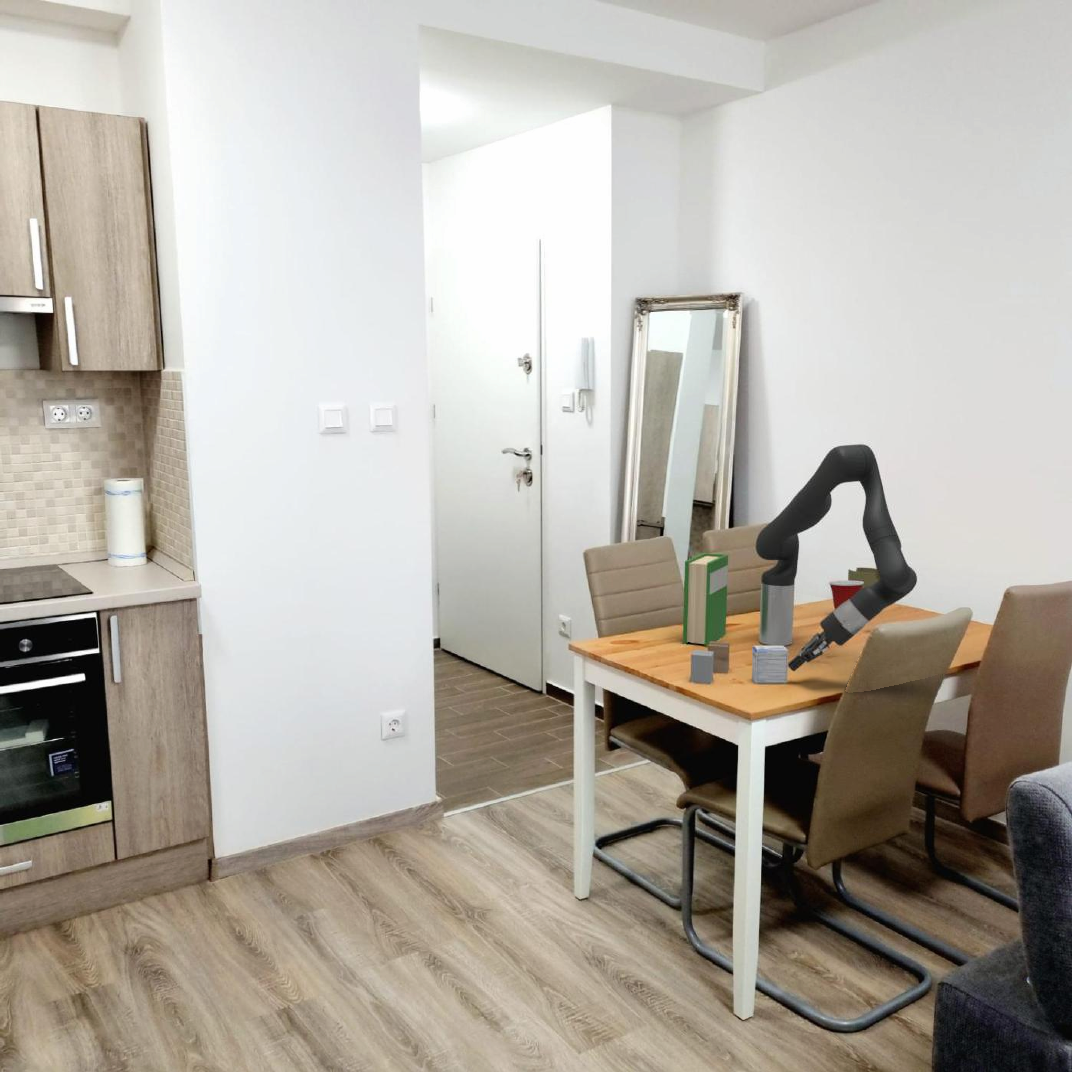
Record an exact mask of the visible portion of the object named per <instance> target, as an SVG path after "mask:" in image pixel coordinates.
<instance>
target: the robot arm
mask: <svg viewBox="0 0 1072 1072" xmlns="http://www.w3.org/2000/svg"><path fill="white" fill-rule="evenodd" d="M854 482H859V483H860V485H861V487H862V489H863V490H864V495H865V502H864V503H865V504H864V510H863V513H862V514H863V516H862V528H863V529H862V530H863V532H864V533H863V534H864V536H865V539H866V542H867V544H868V546H869V548H870V550H871V553H872V554H873V558H874V563H875V569H877V571H878V574H879V577H880V579H881V580H879V581H878V582H877V583H875V584H874V585H872V586H865V587H864V588H862V589H861V590H859V591H858V592H857V593H856V594H855V595H854V596H852V597H851V598H850V599H849V600H847V601H846V602H844V603H843V604H841V605H840V606H839V607H838V608H836V609H835V608H834V610H833V611H831V612H830V613H829V614H828V615H827V616H825V617H824V618H823V619H822V620H821V621H820V623H819V625H820V627H821V629H822V630H823V631H822V632H820V633H819V632H817V633H815V634H814V635H813V636H812V638H811V639H810V640H809V641H807V643H805V644H804V646H803V647H801V649H800V651H799V653H798V654H797V655H796V656H795V657H794V658H793V659H791V660H790V661H788V668H789V669H790V670H791V671H792V672H795V671H797V670H798V669H799V668H800V667H801V666H803V665H804V664H805V663H807V664H809V663H810V662H811V661H814V660H815V659H817V658H819V657H820V656H822V655H823V653H824V652H826V651H827V650H828V649H830V645H831V644H832V643H833V642H834V643H835V644H836V645H837V646H839V647H842V646H843V645H845V644H846V643H847V642H849V640H850V639H852V638H853V637H854V636H855V635H857V634H858V633H859V632H860V631H861V630H862V629H864V628H865V627H866V626H867V624H868V623H869V622H870V621H872V620H873V619H874V618H875V617H876V616H878V615H879V614H880V613H881V612H882V611H883V610H885V609H886V608H888V607H889V606H892V605H894V604H895V603H896V602H898V601H900V600H902V599H903V598H904V597H907V596H908V595H909V594H910V593H912V591H913V590H914V588H915V587H916V585H917V582H918V576H917V573H916V571H915V570H914V569H913V568H912V567H911V566H909V564H908V563H907V561H906V559H905V557H904V554H903V551H902V543H901V540H900V537H899V535H898V532H897V530H896V527H895V525H894V523H893V520H892V518H891V515H890V512H889V508H888V505H887V500H886V496H885V490H884V485H883V483H882V478H881V472H880V469H879V464H878V461H877V458H876V455H875V453H874V451H873V450H872V448H871V447H870V446H868V445H867V444H864V443H863V444H862V443H860V444H848V445H838V446H835V447H833V448H832V449H830V450H829V451H828V452H827V454H826V455H825V457H824V458H823V460H822V461H821V463H820V465H819V466H818V467H817V468H816V471H815V472H814V473H813V475H812V476H811V477H810V479H809V480H808V481H807V482H806V483H805V485H804V486H803V487H802V488H801V489H800V490H799V491H798V492H797V494H796V495H794V496H793V498H792V499H791V501H790V502H789V503H788V504H787V505H786V507H785V508H784V509H783V510H781V512H780V513H779V514H778V515H777V516H776V517H775V518H774V519H773V520H772V521H771V522H769V523H768V524H767V525H765V527H763V528H762V529H761V530H760V532H759V534H758V535H757V538H756V541H755V550H756V553H757V555H758V556H759V557H760V558H761V559H763V560H766V561H777V562H776V564H775V565H774V566H773V567H772V568H769V569H768V570H766V571H764V572H763V573H762V574H761V582H760V583H761V585H760V609H759V610H760V612H759V638H758V639H759V640H758V641H759V643H761V644H763V645H766V646H784V647H785V646H789V645H792V644H793V630H794V629H793V628H794V611H795V610H794V608H795V607H794V605H795V580H796V578H797V573H798V562H799V551H800V539H799V535H798V534H801V533H803V532H805V531H807V530H809V529H812V528H814V527H815V526H816V525H817V524H818V523H820V521H822V519H824V517H826V515H827V514H828V512H829V511H830V510H831V507H832V502H833V501H832V500H833V499H832V495H831V494H832V492H833V490H834V489H835V488H837V487H838V486H839V485H841V484H845V483H854Z"/></svg>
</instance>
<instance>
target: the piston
mask: <svg viewBox="0 0 1072 1072" xmlns="http://www.w3.org/2000/svg"><path fill="white" fill-rule="evenodd" d="M847 570H848V571H847V572H848V573H847V581H862V582H864V584H863V585H862V588H864V587H865V586H872V585H874V584H875V583H877V582H878V581H879V580H881V579H880V577H879V574H878V571H877V568H876V567H875V568H873V567H856V569H855V570H852V569H850V568H849V569H847Z"/></svg>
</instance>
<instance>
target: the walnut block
mask: <svg viewBox="0 0 1072 1072" xmlns="http://www.w3.org/2000/svg"><path fill="white" fill-rule="evenodd" d="M730 647H731V645H730V641H729V642H726V641H725V642H724V641H716V642H715V641H710V642H709V645H708V647H707V651H713V652H714V660H713V674H715V673H716V674H725V675H726V674H727V675H728V672H729V669H730Z"/></svg>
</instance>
